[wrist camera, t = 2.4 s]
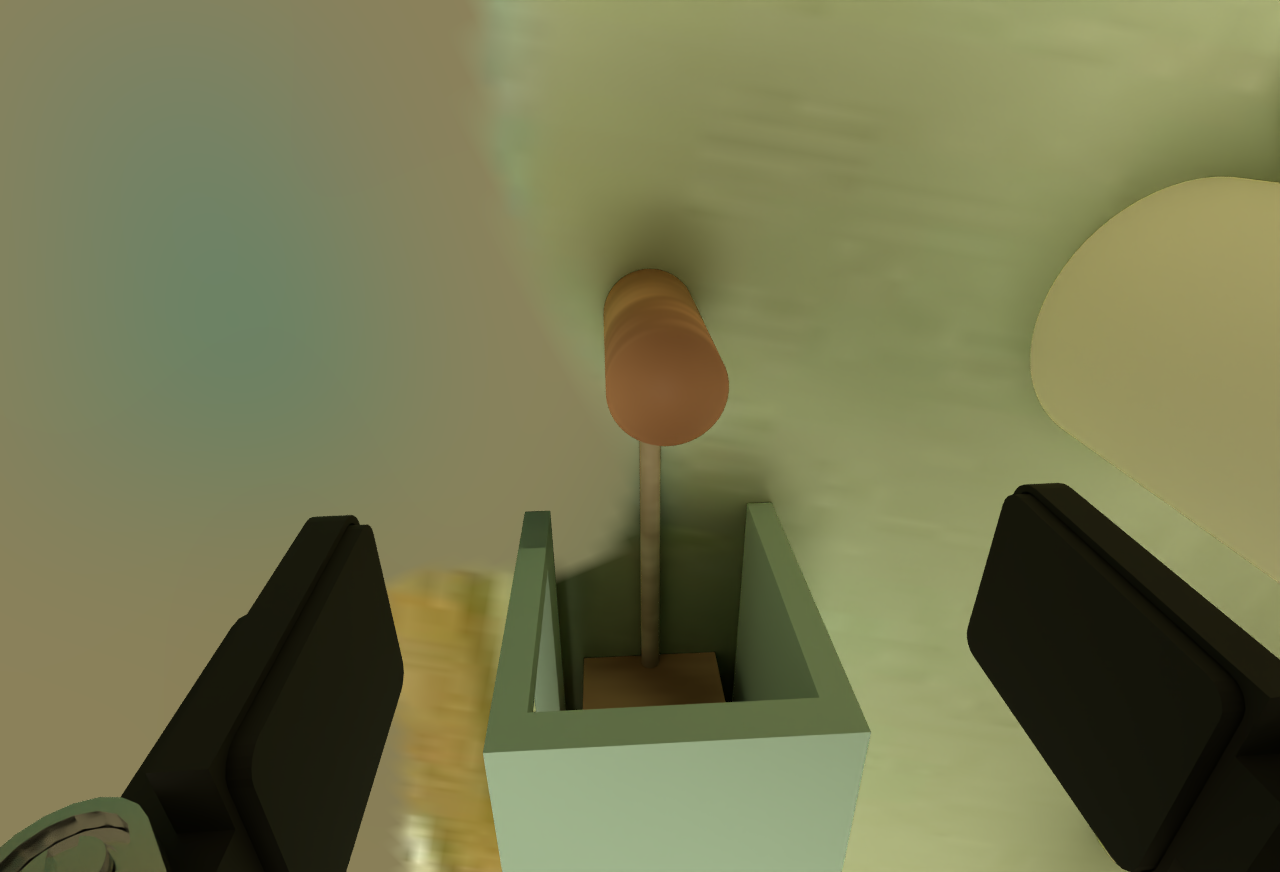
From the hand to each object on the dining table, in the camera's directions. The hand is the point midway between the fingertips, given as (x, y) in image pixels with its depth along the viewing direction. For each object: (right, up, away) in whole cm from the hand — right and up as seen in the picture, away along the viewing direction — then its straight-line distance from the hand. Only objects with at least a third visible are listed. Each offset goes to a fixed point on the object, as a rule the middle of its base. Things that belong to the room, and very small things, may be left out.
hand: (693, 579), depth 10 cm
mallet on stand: (0, -3, +18) cm, 18 cm away
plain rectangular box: (0, -9, +21) cm, 23 cm away
